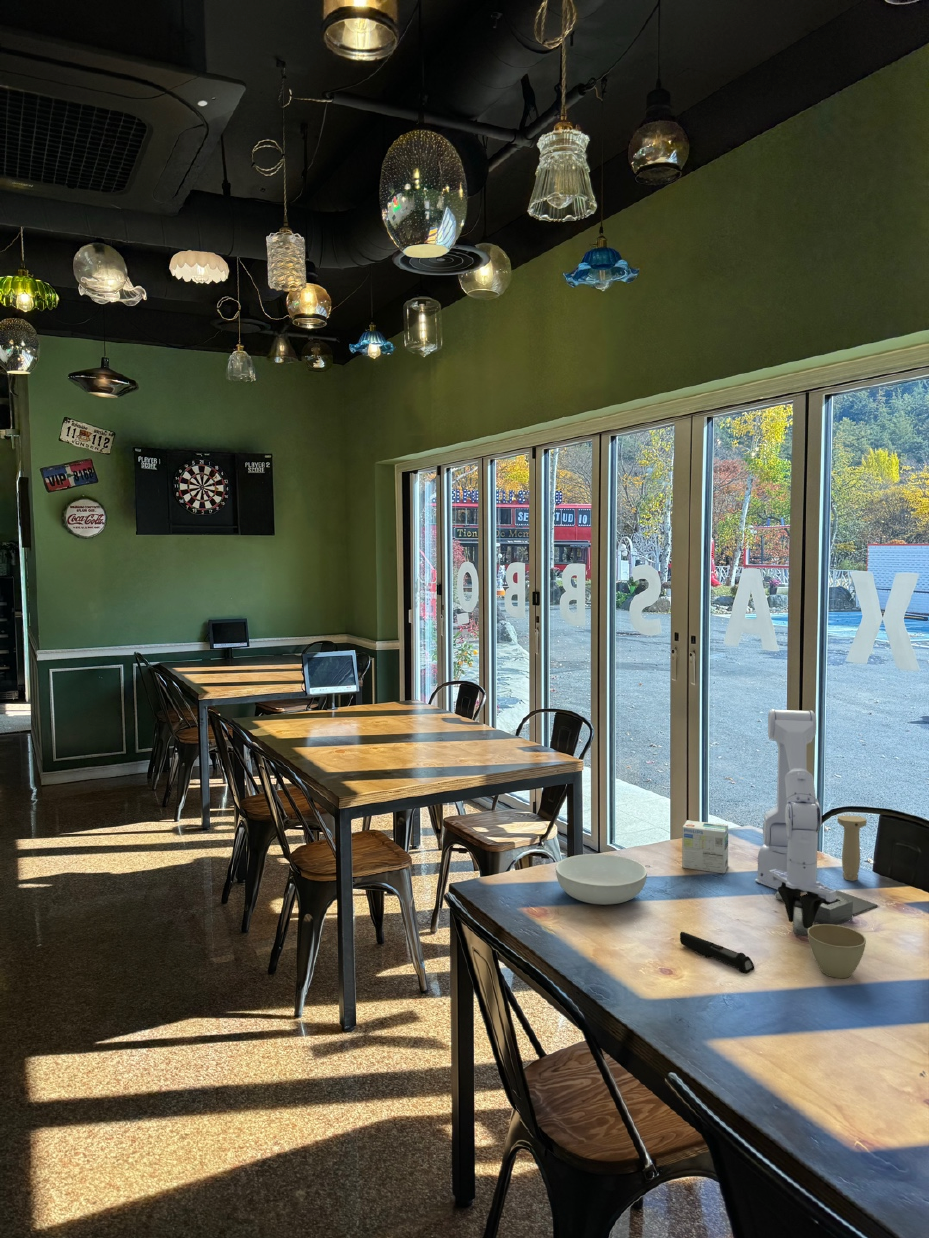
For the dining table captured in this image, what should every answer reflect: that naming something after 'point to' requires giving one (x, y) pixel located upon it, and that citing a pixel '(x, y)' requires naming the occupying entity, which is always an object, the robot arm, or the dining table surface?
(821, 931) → the flower pot
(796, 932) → the spice shaker
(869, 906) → the mat
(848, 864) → the handle
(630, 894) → the serving bowl
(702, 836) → the light bulb box
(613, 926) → the dining table surface
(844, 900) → the grey hollow block
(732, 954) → the electric trimmer
